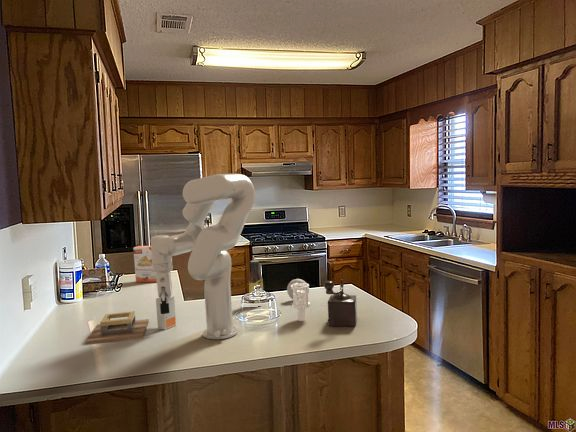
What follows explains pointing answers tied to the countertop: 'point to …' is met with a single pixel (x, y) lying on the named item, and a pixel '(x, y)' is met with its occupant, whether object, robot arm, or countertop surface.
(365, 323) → the countertop surface
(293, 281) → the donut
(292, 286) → the clear stepped glass cylinder
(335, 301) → the manual coffee grinder
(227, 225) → the robot arm
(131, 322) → the frame
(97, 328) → the walnut board
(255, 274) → the sauce bottle
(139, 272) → the cracker box
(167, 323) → the skincare box
